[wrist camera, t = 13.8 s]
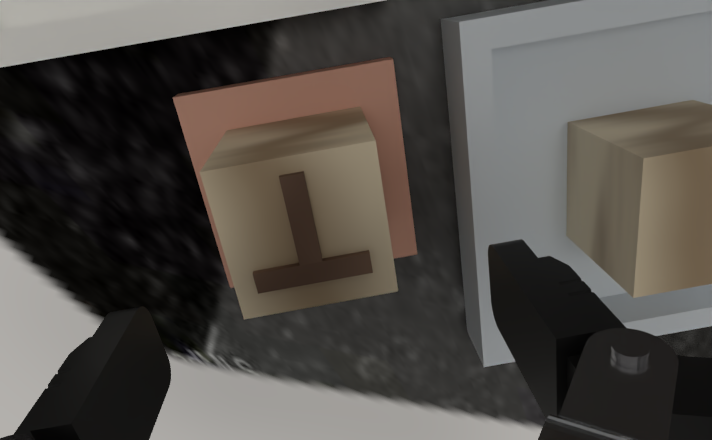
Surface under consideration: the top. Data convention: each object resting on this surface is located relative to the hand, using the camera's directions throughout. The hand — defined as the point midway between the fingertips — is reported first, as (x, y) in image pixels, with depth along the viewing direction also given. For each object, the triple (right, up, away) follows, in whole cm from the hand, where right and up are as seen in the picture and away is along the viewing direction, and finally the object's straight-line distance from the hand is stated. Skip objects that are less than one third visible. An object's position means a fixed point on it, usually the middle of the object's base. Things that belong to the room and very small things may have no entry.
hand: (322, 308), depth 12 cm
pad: (-1, +4, +9) cm, 10 cm away
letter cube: (-1, +4, +8) cm, 9 cm away
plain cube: (+12, +4, +9) cm, 15 cm away
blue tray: (+12, +4, +10) cm, 16 cm away
